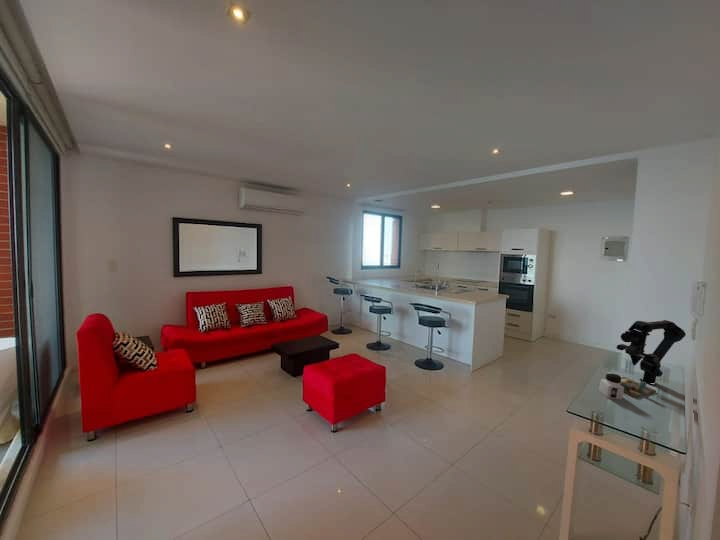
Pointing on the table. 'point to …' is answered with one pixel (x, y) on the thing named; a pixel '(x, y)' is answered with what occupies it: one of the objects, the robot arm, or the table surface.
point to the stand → (634, 392)
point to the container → (612, 386)
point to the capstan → (633, 384)
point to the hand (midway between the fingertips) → (634, 365)
